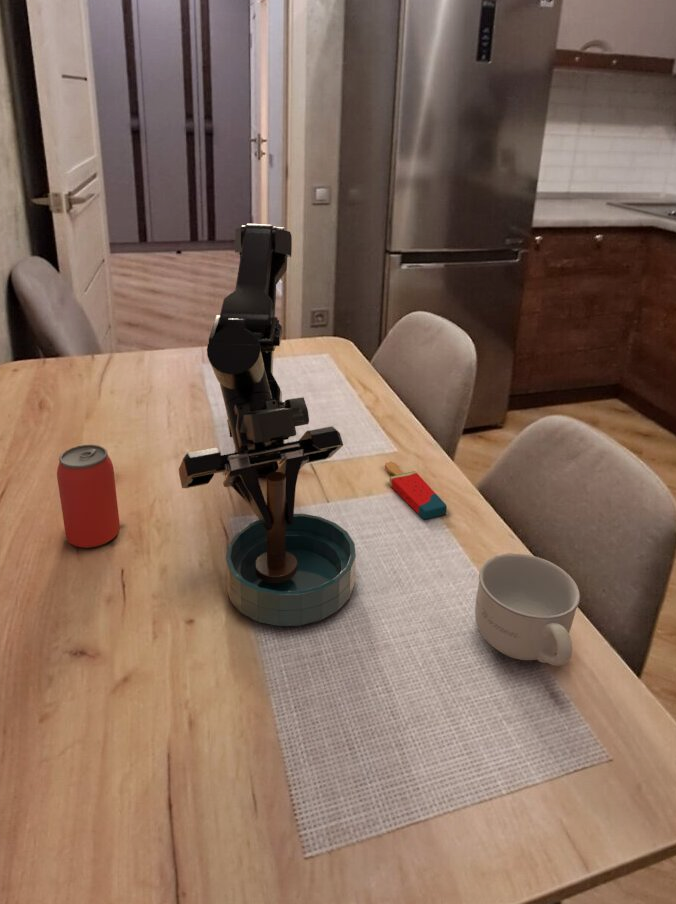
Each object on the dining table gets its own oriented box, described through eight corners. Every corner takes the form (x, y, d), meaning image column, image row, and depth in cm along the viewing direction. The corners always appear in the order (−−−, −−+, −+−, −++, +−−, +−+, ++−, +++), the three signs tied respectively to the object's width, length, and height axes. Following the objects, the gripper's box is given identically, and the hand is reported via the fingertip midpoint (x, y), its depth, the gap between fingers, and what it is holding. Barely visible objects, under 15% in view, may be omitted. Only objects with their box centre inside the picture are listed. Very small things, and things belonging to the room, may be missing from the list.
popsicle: (401, 456, 109) (449, 505, 96) (400, 464, 109) (448, 513, 97) (376, 461, 107) (422, 512, 94) (375, 469, 107) (421, 520, 95)
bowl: (205, 615, 76) (203, 579, 74) (256, 536, 89) (255, 505, 87) (334, 642, 73) (335, 606, 71) (366, 556, 87) (368, 524, 85)
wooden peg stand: (248, 579, 78) (246, 484, 74) (264, 553, 83) (263, 462, 78) (289, 586, 78) (289, 491, 73) (302, 560, 82) (304, 469, 77)
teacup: (463, 604, 80) (470, 549, 77) (551, 603, 81) (561, 549, 78) (489, 703, 67) (499, 641, 64) (594, 700, 68) (608, 639, 65)
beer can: (131, 527, 90) (123, 448, 85) (96, 555, 84) (86, 473, 79) (91, 515, 92) (81, 438, 87) (54, 542, 86) (41, 461, 81)
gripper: (178, 387, 70) (210, 532, 66) (339, 365, 79) (377, 492, 74) (167, 423, 80) (194, 552, 75) (312, 399, 88) (344, 514, 83)
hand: (280, 526), depth 77 cm, fingers closed on wooden peg stand, 2 cm apart
